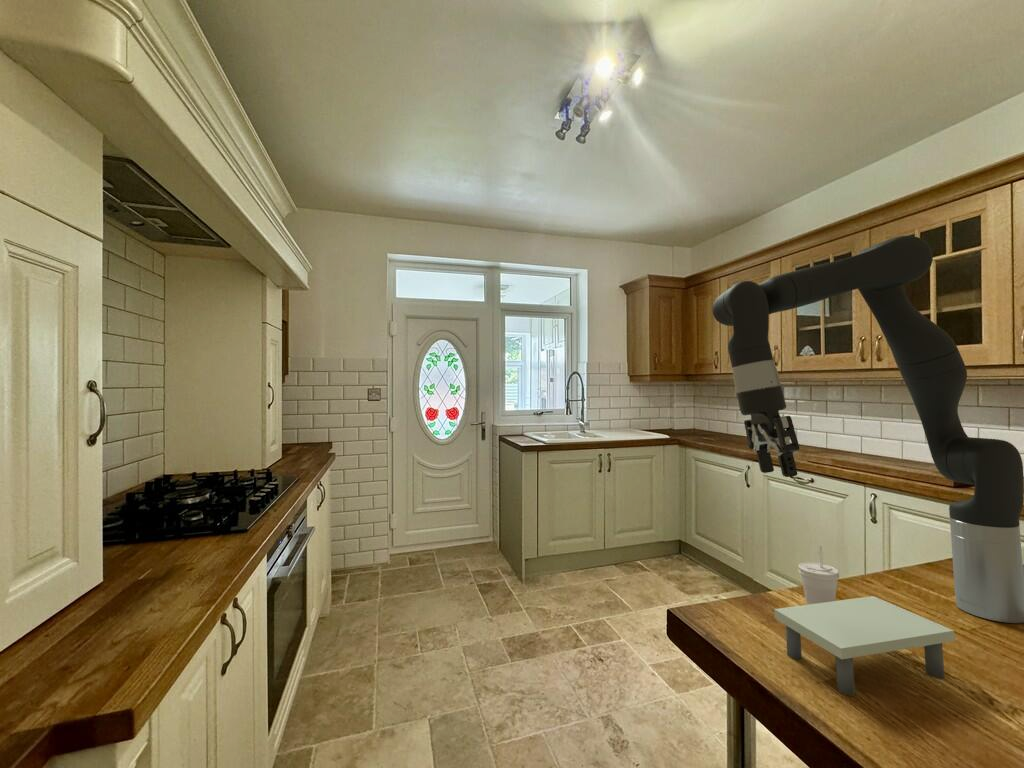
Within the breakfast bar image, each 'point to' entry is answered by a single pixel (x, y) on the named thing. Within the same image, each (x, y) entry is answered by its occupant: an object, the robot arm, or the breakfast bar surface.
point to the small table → (863, 633)
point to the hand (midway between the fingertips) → (778, 474)
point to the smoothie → (818, 581)
